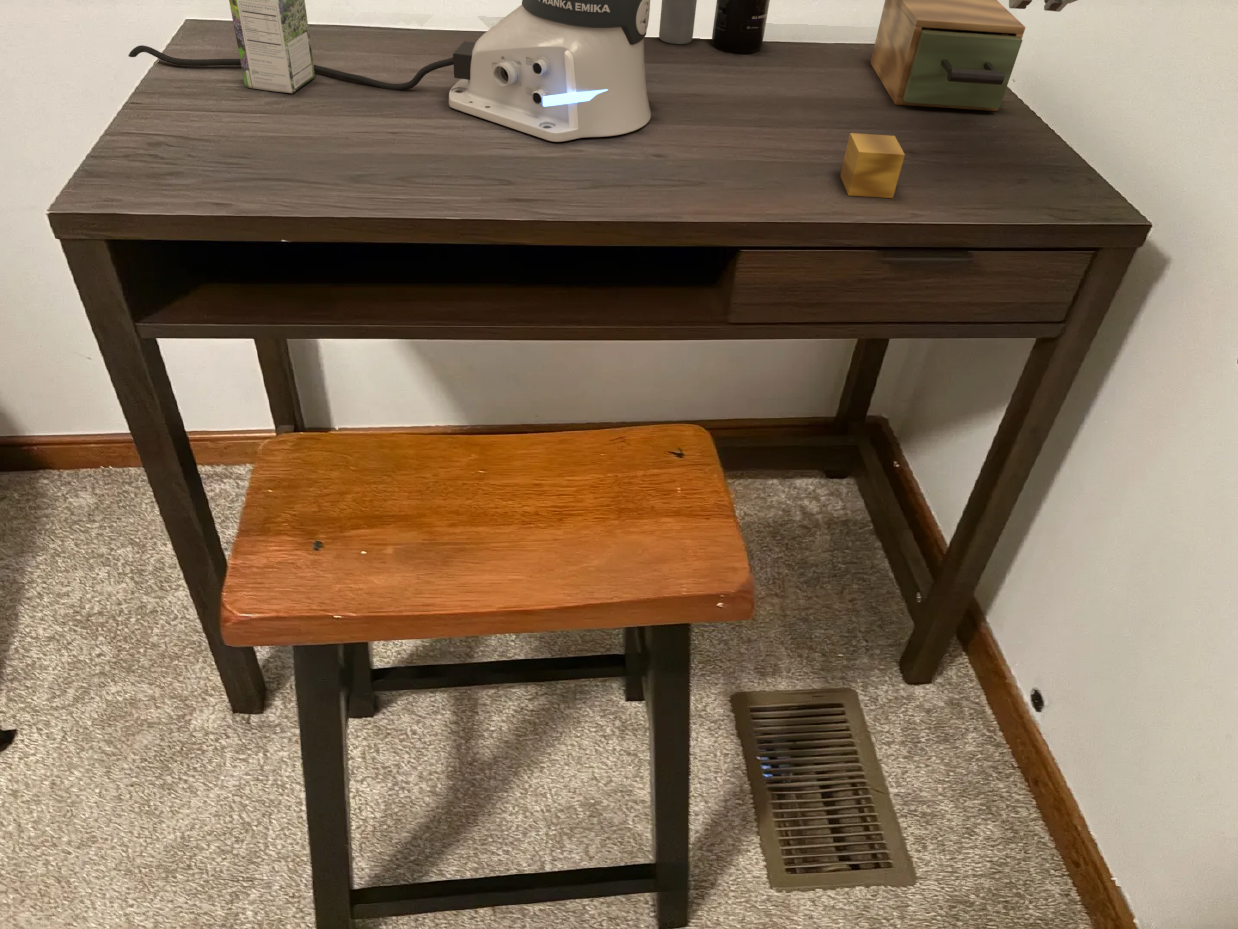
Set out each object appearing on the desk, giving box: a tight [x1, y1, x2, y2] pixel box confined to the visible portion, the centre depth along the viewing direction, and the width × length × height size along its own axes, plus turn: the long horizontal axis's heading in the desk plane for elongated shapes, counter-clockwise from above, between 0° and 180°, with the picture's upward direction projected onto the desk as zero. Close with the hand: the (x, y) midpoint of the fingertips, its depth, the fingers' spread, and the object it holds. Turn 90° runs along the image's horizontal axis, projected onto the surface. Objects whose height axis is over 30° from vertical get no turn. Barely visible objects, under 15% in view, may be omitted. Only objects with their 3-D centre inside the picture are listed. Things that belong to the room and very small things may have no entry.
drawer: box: [903, 27, 1023, 110], centre depth 110 cm, size 18×11×8 cm, turn 0°
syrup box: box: [228, 0, 316, 94], centre depth 99 cm, size 6×6×14 cm
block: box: [839, 132, 906, 199], centre depth 91 cm, size 4×4×4 cm
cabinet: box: [870, 0, 1026, 112], centre depth 113 cm, size 15×13×10 cm
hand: (1033, 2), depth 90 cm, fingers closed
